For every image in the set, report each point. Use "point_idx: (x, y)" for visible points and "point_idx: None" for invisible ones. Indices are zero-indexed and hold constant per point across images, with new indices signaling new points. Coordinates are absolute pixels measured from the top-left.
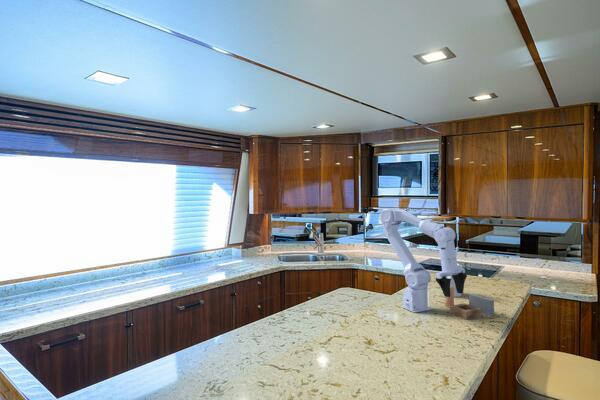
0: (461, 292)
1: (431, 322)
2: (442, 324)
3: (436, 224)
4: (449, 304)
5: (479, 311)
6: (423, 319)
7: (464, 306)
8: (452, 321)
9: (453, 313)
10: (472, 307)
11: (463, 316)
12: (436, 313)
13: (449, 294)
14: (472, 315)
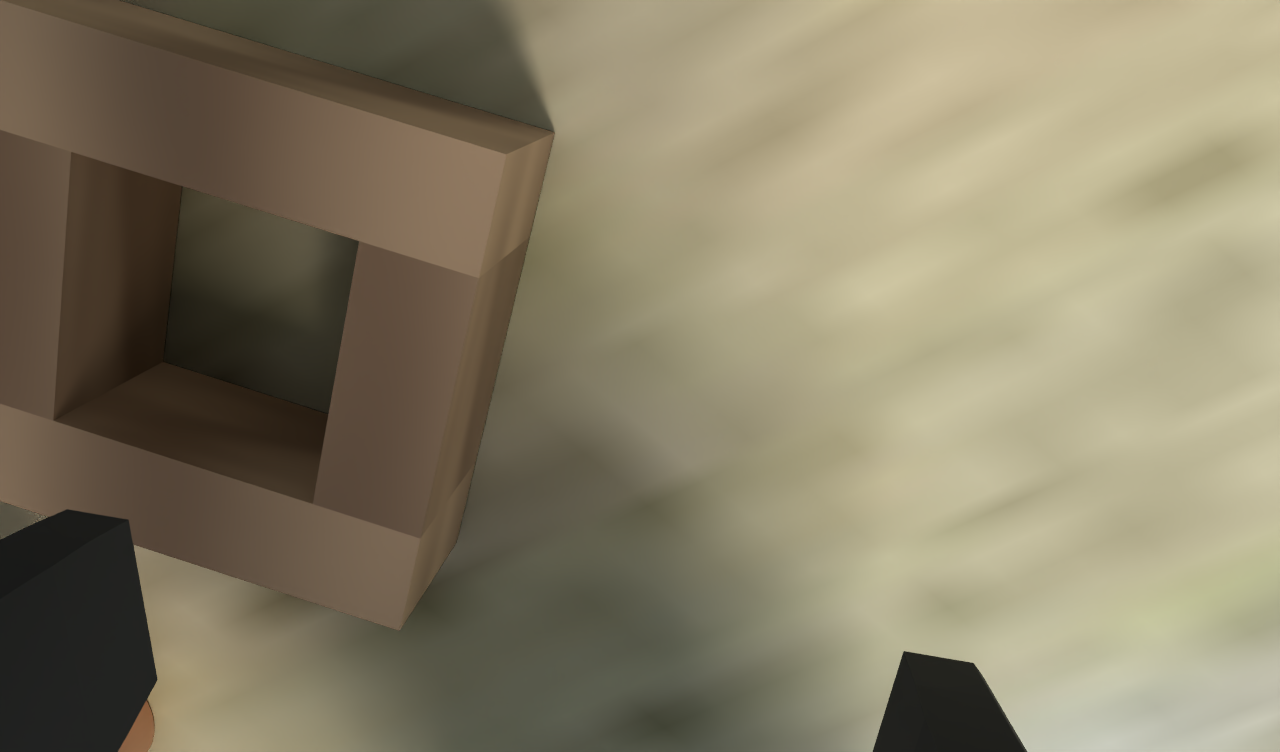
0: (109, 562)
1: (1274, 544)
2: (1241, 334)
3: None
4: None
5: (80, 13)
6: (1199, 722)
7: (99, 418)
8: (883, 283)
9: (469, 470)
10: (59, 219)
11: (523, 215)
12: (661, 706)
13: (1003, 727)
14: (341, 81)
